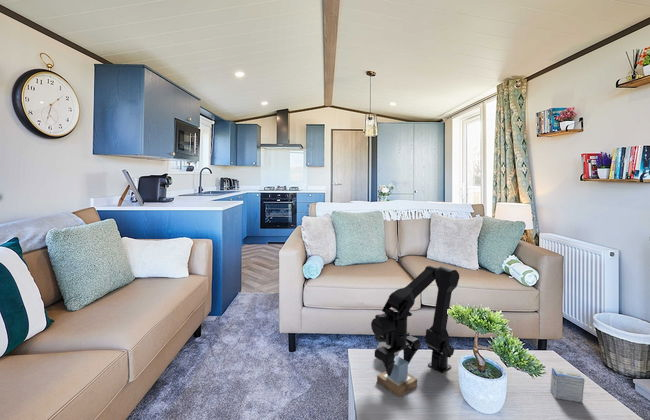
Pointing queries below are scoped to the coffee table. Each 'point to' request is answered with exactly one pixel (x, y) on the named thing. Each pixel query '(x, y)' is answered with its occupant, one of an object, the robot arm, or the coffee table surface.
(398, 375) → the block
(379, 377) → the picture frame
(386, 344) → the die
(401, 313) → the robot arm
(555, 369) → the medicine box
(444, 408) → the coffee table surface
